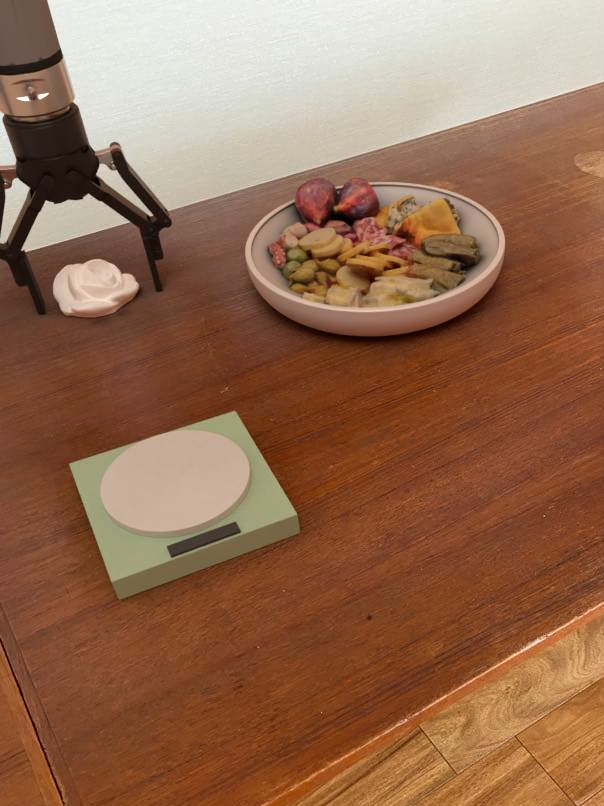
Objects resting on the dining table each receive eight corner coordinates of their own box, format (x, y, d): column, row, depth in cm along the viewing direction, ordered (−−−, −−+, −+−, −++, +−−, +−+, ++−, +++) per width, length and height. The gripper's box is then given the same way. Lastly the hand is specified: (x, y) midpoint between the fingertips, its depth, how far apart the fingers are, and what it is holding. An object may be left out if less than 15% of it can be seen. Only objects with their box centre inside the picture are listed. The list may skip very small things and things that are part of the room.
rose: (45, 248, 102) (129, 236, 103) (57, 282, 105) (138, 270, 106) (43, 292, 95) (133, 278, 97) (56, 327, 98) (143, 312, 100)
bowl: (555, 282, 102) (562, 219, 96) (353, 386, 89) (347, 320, 84) (395, 196, 118) (392, 137, 112) (204, 274, 105) (191, 212, 100)
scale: (119, 600, 71) (108, 575, 68) (76, 482, 80) (65, 456, 78) (300, 533, 75) (296, 507, 73) (239, 429, 85) (233, 403, 83)
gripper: (-95, 143, 82) (-9, 334, 97) (168, 101, 87) (210, 290, 102) (-91, 114, 87) (-10, 301, 102) (158, 76, 92) (199, 260, 107)
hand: (100, 296), depth 102 cm, fingers open, 13 cm apart
